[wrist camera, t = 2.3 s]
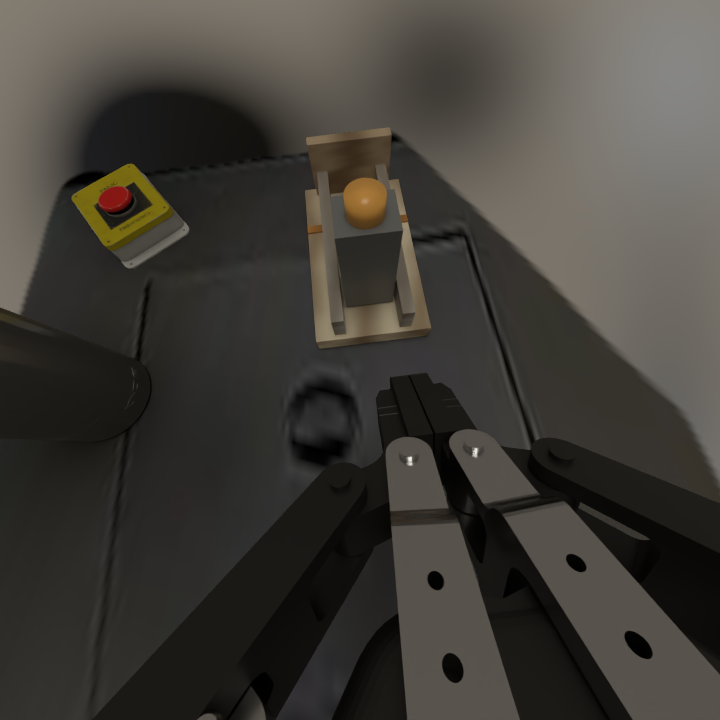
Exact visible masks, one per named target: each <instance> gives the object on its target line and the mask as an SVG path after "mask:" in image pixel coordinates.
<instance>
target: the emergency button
mask: <svg viewBox="0 0 720 720" xmlns="http://www.w3.org/2000/svg"><path fill="white" fill-rule="evenodd" d="M72 200H73V202H74V203H75V205H76V206H77V208H78V209H79V210H80V212H81V213H82V215H83V216H84V218H85V219H86V220H87V222H88V223H89V225H90V226H91V228H92V229H93V230H94V232H95V233H96V235H97V236H98V238H99V239H100V240H101V242H102V243H103V245H104V246H105V247H107V248H108V249H109V250H110V251H111V252H113V253H114V254H115V255H116V256H117V257H118V258H119V259H120V260H121V262H122V263H123V264H124V266H126V267H127V268H128V269H133V268H136V267H138V266H139V265H141V264H142V263H144V262H145V261H147V260H149V259H150V258H152V257H153V256H155V255H156V254H158V253H160V252H161V251H163V250H164V249H166V248H167V247H169V246H170V245H172V244H174V243H175V242H177V241H178V240H180V239H181V238H183V237H184V236H186V235H187V234H188V233H189V230H190V229H189V227H188V225H187V224H186V223H185V222H184V221H183V220H182V218H181V217H180V216H179V215H178V214H177V213H176V211H175V210H174V209H173V208H172V207H171V206H170V204H169V203H168V202H167V201H166V200H165V199H164V197H163V196H162V195H161V194H160V193H159V192H158V190H157V189H156V188H155V187H154V186H153V185H152V183H151V182H150V181H149V180H148V179H147V178H146V176H145V175H144V174H142V173H141V172H140V171H139V169H138V168H137V167H136V166H135V165H133V164H127V165H125V166H123V167H121V168H120V169H118V170H116V171H114V172H112V173H111V174H109V175H107V176H105V177H103V178H102V179H100V180H98V181H96V182H94V183H93V184H91V185H89V186H87V187H85V188H84V189H82V190H80V191H78V192H77V193H75V194H74V195H73V196H72Z"/></svg>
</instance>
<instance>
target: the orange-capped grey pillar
mask: <svg viewBox="0 0 720 720" xmlns="http://www.w3.org/2000/svg"><path fill="white" fill-rule="evenodd" d="M330 203H331V212H332V221H333V230H334V239H335V245H336V251H337V257H338V263H339V269H340V274H341V280H342V286H343V292H344V298H345V304H346V307H353V306H361V305H369V304H377V303H385V302H392V301H393V295H394V288H395V282H396V275H397V268H398V262H399V255H400V249H401V242H402V235H403V227H402V222H401V217H400V212H399V208H398V203H397V198H396V193H395V189H390V190H386V188H385V186H384V185H383V184H382V183H381V182H379V181H378V180H376V179H372V178H359V179H356V180H354V181H352V182H350V183H349V184H348V185H347V186H346V188H345V189H344V193H343V195H341V196H333V197H330Z"/></svg>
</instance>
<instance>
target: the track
mask: <svg viewBox="0 0 720 720" xmlns="http://www.w3.org/2000/svg"><path fill="white" fill-rule="evenodd" d="M306 139H307V140H306V141H307V148H308V153H309V158H310V163H311V167H312V172H313V177H314V182H315V187H316V189H314V190H305V195H306V209H307V223H308V236H309V250H310V264H311V278H312V291H313V305H314V319H315V332H316V343H317V345H318V347H319V349H323V348H331V347H339V346H347V345H355V344H363V343H371V342H380V341H388V340H396V339H404V338H412V337H420V336H427V335H428V333H429V331H430V329H431V326H430V321H429V317H428V312H427V307H426V303H425V298H424V294H423V289H422V285H421V280H420V276H419V271H418V266H417V262H416V257H415V253H414V248H413V244H412V239H411V235H410V230H409V225H408V219H407V214H406V212H405V207H404V203H403V198H402V194H401V189H400V184H399V180H398V179H396V180H389V165H390V150H391V131H390V128H380V129H372V130H364V131H356V132H348V133H339V134H331V135H324V136H315V137H307V138H306ZM359 178H372V179H376V180H378V181H379V182H381V183H382V184H383V185H384V186H385V188H386V190H390V189H395V193H396V198H397V203H398V208H399V212H400V217H401V222H402V227H403V235H402V242H401V249H400V255H399V262H398V268H397V275H396V282H395V288H394V295H393V301H392V302H385V303H377V304H369V305H361V306H353V307H346V304H345V298H344V292H343V286H342V280H341V274H340V269H339V263H338V257H337V251H336V245H335V239H334V230H333V221H332V212H331V203H330V197H333V196H341V195H343V193H344V189H345V188H346V186H347V185H348V184H349V183H350V182H352V181H354V180H356V179H359Z"/></svg>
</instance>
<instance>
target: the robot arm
mask: <svg viewBox="0 0 720 720" xmlns="http://www.w3.org/2000/svg"><path fill="white" fill-rule="evenodd" d="M390 388H391V389H389V390H381V391H379V393H378V395H377V398H376V404H377V413H378V423H379V431H380V436H381V442H382V448H383V454H382V456H381V457H380V458H379V459H378V460H377V461H376V462H374V463H373V464H371V465H369V466H367V467H364V468H362V469H360V468H359V467H358V466H356V465H354V464H351V463H337V464H334V465H331V466H329V467H328V468H326V469H325V470H324V471H323V472H322V473H321V474H320V475H319V476H318V477H317V478H316V479H315V480H314V481H313V482H312V483H311V485H310V486H309V487H308V488H307V489H306V490H305V491H304V492H303V493H302V494H301V495H300V496H299V497H298V499H297V500H296V501H295V502H294V503H293V504H292V505H291V506H290V507H289V508H288V509H287V510H286V511H285V513H284V514H283V515H282V516H281V517H280V518H279V519H278V520H277V521H276V522H275V523H274V524H273V526H272V527H271V528H270V529H269V530H268V531H267V532H266V533H265V534H264V535H263V536H262V537H261V538H260V540H259V541H258V542H257V543H256V544H255V545H254V546H253V547H252V548H251V549H250V550H249V551H248V552H247V554H246V555H245V556H244V557H243V558H242V559H241V560H240V561H239V562H238V563H237V564H236V565H235V566H234V568H233V569H232V570H231V571H230V572H229V573H228V574H227V575H226V576H225V577H224V578H223V579H222V580H221V582H220V583H219V584H218V585H217V586H216V587H215V588H214V589H213V590H212V591H211V592H210V593H209V594H208V596H207V597H206V598H205V599H204V600H203V601H202V602H201V603H200V604H199V605H198V606H197V607H196V608H195V610H194V611H193V612H192V613H191V614H190V615H189V616H188V617H187V618H186V619H185V620H184V621H183V622H182V624H181V625H180V626H179V627H178V628H177V629H176V630H175V631H174V632H173V633H172V634H171V635H170V636H169V638H168V639H167V640H166V641H165V642H164V643H163V644H162V645H161V646H160V647H159V648H158V649H157V650H156V652H155V653H154V654H153V655H152V656H151V657H150V658H149V659H148V660H147V661H146V662H145V663H144V665H143V666H142V667H141V668H140V669H139V670H138V671H137V672H136V673H135V674H134V675H133V676H132V677H131V679H130V680H129V681H128V682H127V683H126V684H125V685H124V686H123V687H122V688H121V689H120V690H119V691H118V693H117V694H116V695H115V696H114V697H113V698H112V699H111V700H110V701H109V702H108V703H107V704H106V705H105V707H104V708H103V709H102V710H101V711H100V712H99V713H98V714H97V715H96V716H95V717H94V718H93V719H92V720H276V718H277V716H278V714H279V712H280V711H281V709H282V707H283V705H284V704H285V702H286V700H287V699H288V697H289V695H290V693H291V692H292V690H293V688H294V686H295V685H296V683H297V681H298V680H299V678H300V676H301V674H302V673H303V671H304V669H305V668H306V666H307V664H308V662H309V661H310V659H311V657H312V655H313V654H314V652H315V650H316V649H317V647H318V645H319V643H320V642H321V640H322V638H323V636H324V635H325V633H326V631H327V630H328V628H329V626H330V624H331V623H332V621H333V619H334V617H335V616H336V614H337V612H338V611H339V609H340V607H341V605H342V604H343V602H344V600H345V599H346V597H347V595H348V593H349V592H350V590H351V588H352V586H353V585H354V583H355V581H356V580H357V578H358V576H359V574H360V573H361V571H362V569H363V567H364V566H365V564H366V562H367V561H368V559H369V557H370V555H371V554H372V551H373V549H374V547H375V546H377V545H379V544H380V543H382V542H384V541H386V540H388V539H390V538H392V541H393V553H394V565H395V577H396V589H397V601H398V614H396V615H395V616H393V617H392V618H391V619H389V620H388V621H387V622H385V623H384V624H383V625H382V626H381V627H380V628H379V629H378V630H377V631H376V633H375V634H374V635H373V637H372V638H371V639H370V640H369V642H368V643H367V645H366V647H365V648H364V650H363V652H362V653H361V655H360V657H359V659H358V661H357V663H356V665H355V668H354V670H353V672H352V675H351V677H350V679H349V681H348V684H347V686H346V688H345V690H344V693H343V695H342V697H341V700H340V702H339V704H338V706H337V709H336V711H335V713H334V715H333V718H332V720H720V503H717V502H715V501H712V500H710V499H707V498H705V497H702V496H700V495H697V494H695V493H693V492H690V491H688V490H685V489H683V488H680V487H678V486H675V485H673V484H670V483H668V482H666V481H663V480H661V479H658V478H656V477H653V476H651V475H648V474H646V473H643V472H641V471H638V470H636V469H634V468H631V467H629V466H626V465H624V464H621V463H619V462H616V461H614V460H611V459H609V458H607V457H604V456H602V455H599V454H597V453H594V452H592V451H589V450H587V449H584V448H582V447H580V446H577V445H575V444H572V443H570V442H567V441H564V440H561V439H556V438H542V439H539V440H536V441H535V442H534V443H533V444H532V446H531V450H524V449H516V448H508V447H503V446H499V444H498V443H497V442H496V441H495V440H494V439H493V438H492V437H491V436H489V435H488V434H486V433H484V432H481V431H478V430H477V429H476V427H475V426H474V424H473V422H472V421H471V419H470V418H469V416H468V415H467V413H466V412H465V410H464V409H463V407H462V406H461V405H460V403H459V401H458V399H456V396H455V395H454V393H453V392H452V390H451V389H450V388H448V387H447V386H445V385H444V384H442V383H437V384H433V383H432V381H431V379H430V377H429V376H428V374H427V373H420V374H412V375H405V376H397V377H390ZM149 394H150V379H149V374H148V373H147V371H146V369H145V367H144V366H143V365H142V364H141V363H140V362H139V361H137V360H135V359H134V358H131V357H128V356H126V355H123V354H120V353H118V352H115V351H113V350H110V349H107V348H105V347H102V346H100V345H97V344H95V343H92V342H89V341H87V340H84V339H82V338H79V337H76V336H74V335H71V334H68V333H66V332H63V331H61V330H58V329H55V328H53V327H50V326H47V325H45V324H42V323H40V322H37V321H34V320H32V319H29V318H26V317H24V316H21V315H19V314H16V313H13V312H11V311H8V310H5V309H2V308H0V439H33V440H63V441H102V440H106V439H109V438H112V437H115V436H117V435H118V434H120V433H122V432H124V431H125V430H126V429H127V428H129V427H130V426H131V425H132V424H133V423H134V422H135V421H136V420H137V419H138V418H139V416H140V415H141V413H142V412H143V410H144V408H145V406H146V404H147V401H148V398H149ZM442 485H444V488H445V490H446V493H447V501H446V497H445V494H444V490H443V487H442ZM580 502H581V503H583V504H585V505H587V506H589V507H591V508H593V509H595V510H597V511H599V512H601V513H602V514H604V515H606V516H608V517H610V518H612V519H614V520H616V521H618V522H620V523H622V524H623V525H625V526H627V527H629V528H631V529H633V530H635V531H637V532H639V533H641V534H643V535H644V536H646V537H648V538H649V539H650V540H639V539H636V538H633V537H631V536H629V535H627V534H625V533H623V532H622V531H620V530H618V529H616V528H614V527H612V526H610V525H609V524H607V523H605V522H603V521H601V520H599V519H598V518H596V517H594V516H592V515H590V514H588V513H586V512H585V511H583V510H581V509H579V508H578V507H579V505H580ZM470 559H471V560H470ZM471 561H472V563H473V566H474V568H475V571H476V574H477V577H478V582H479V586H478V583H477V579H476V576H475V573H474V570H473V566H472V563H471ZM479 587H480V589H479ZM481 595H482V596H481Z"/></svg>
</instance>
